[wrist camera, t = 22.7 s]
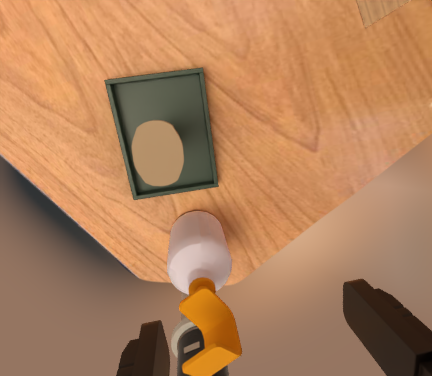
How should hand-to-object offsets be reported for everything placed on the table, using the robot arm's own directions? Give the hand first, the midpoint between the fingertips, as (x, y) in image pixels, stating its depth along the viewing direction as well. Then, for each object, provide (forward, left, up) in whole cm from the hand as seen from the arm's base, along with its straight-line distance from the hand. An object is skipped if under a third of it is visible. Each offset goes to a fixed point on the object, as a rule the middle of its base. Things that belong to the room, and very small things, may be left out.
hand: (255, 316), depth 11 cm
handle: (+5, +5, -32) cm, 33 cm away
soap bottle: (-13, +3, -33) cm, 35 cm away
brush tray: (+5, +5, -32) cm, 33 cm away
